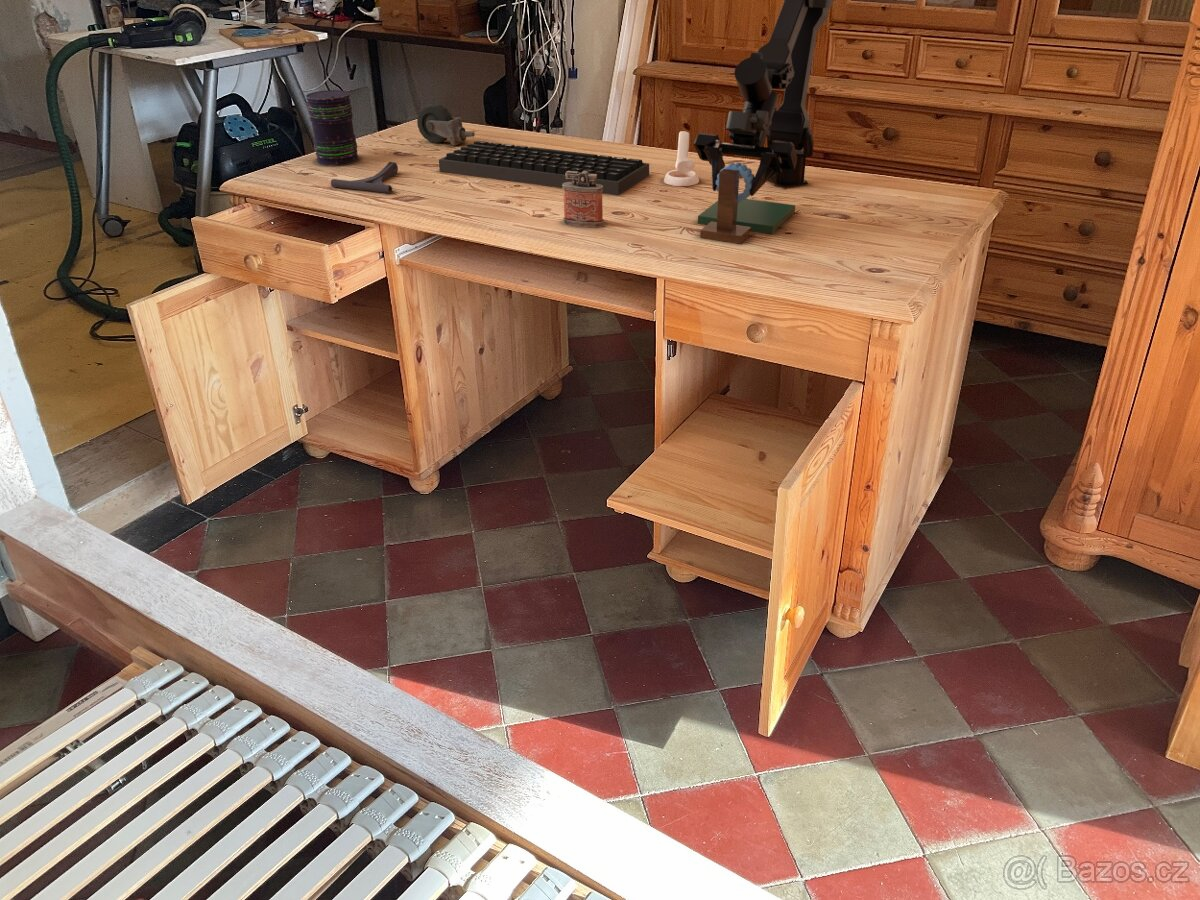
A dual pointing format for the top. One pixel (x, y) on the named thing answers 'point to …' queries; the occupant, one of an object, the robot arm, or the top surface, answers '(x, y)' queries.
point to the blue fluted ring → (745, 174)
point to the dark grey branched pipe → (370, 181)
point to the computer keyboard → (542, 165)
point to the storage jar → (332, 127)
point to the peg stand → (727, 211)
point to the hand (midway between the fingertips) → (732, 192)
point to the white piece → (682, 165)
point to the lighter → (582, 200)
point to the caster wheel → (441, 125)
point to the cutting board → (754, 215)
